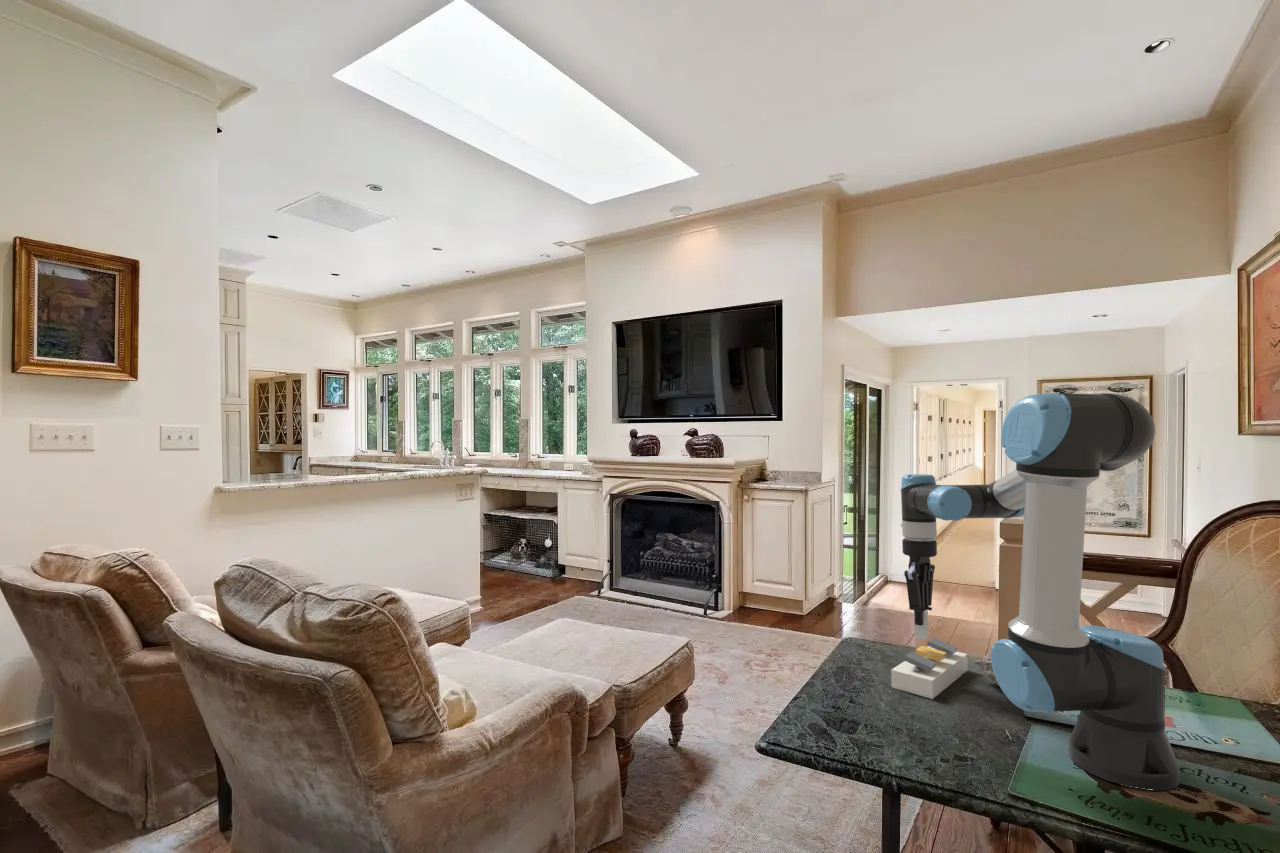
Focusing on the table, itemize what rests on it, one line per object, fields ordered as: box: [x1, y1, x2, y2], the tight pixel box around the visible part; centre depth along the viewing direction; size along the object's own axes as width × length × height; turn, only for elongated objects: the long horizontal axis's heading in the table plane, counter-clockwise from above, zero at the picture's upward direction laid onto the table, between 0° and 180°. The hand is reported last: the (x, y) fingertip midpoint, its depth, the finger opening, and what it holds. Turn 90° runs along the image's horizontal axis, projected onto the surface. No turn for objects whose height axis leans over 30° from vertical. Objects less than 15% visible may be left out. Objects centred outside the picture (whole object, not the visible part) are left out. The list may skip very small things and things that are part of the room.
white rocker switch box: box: [890, 646, 968, 700], centre depth 147 cm, size 9×28×5 cm, turn 135°
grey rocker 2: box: [926, 637, 958, 656], centre depth 150 cm, size 6×4×1 cm
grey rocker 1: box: [903, 651, 936, 672], centre depth 141 cm, size 6×4×1 cm
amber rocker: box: [914, 645, 946, 661], centre depth 146 cm, size 6×4×1 cm
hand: (921, 637), depth 147 cm, fingers closed
